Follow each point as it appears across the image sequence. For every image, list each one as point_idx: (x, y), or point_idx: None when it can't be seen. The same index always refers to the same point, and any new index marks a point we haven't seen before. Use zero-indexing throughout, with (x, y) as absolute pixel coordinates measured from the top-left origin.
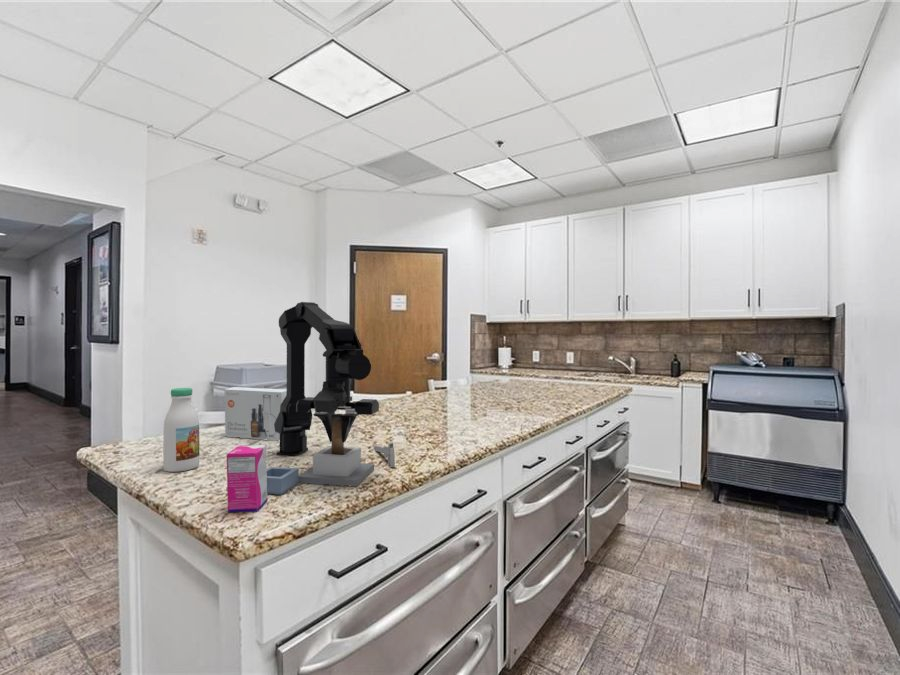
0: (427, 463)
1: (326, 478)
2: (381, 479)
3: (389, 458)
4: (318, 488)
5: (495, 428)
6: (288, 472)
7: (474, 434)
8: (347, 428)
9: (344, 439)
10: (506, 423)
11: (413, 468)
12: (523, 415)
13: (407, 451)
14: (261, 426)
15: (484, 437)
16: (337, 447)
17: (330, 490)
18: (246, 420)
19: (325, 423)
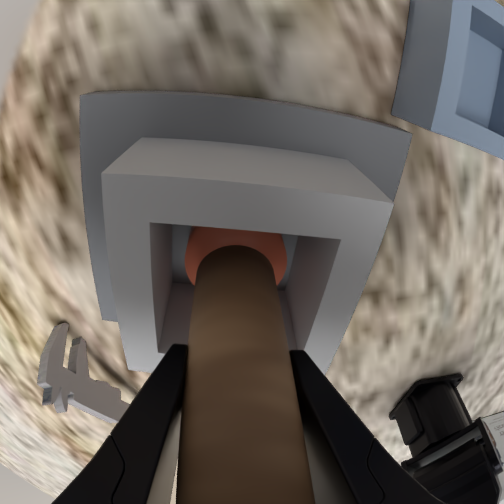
0: (4, 351)
1: (254, 100)
2: (34, 203)
3: (74, 361)
4: (278, 49)
5: (42, 474)
6: (460, 67)
7: (50, 466)
8: (106, 447)
9: (162, 359)
10: (44, 483)
11: (7, 317)
12: (48, 494)
13: (106, 427)
14: None
15: (25, 453)
16: (222, 295)
17: (205, 26)
18: (502, 442)
19: (388, 486)
